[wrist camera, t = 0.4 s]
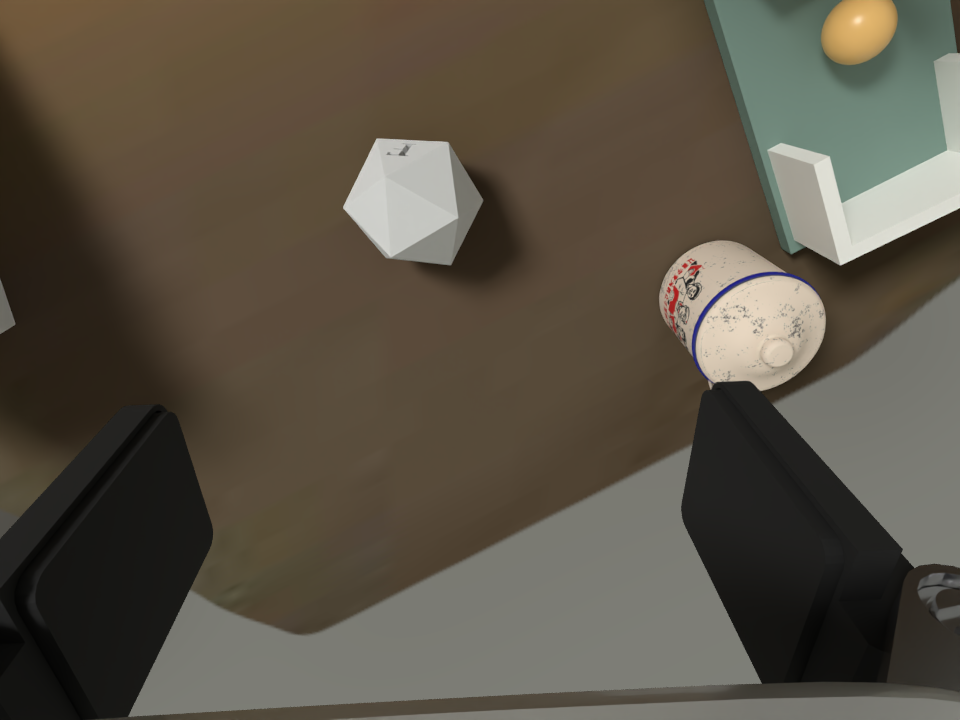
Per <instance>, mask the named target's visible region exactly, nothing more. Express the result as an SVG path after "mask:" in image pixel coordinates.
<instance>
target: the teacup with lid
mask: <svg viewBox="0 0 960 720" xmlns="http://www.w3.org/2000/svg"><path fill="white" fill-rule="evenodd" d="M659 304H660V310H661V313H662V316H663V318H664V320H665V322H666V323H667V325H668V326H669V327H670V328H671V330H672V331H673V332H674V334H675V335H676V336H677V337H678V339H679V340H680V341H681V342H682V344H683V345H684V346H685V348H686V349H687V350H688V351H689V353H690V354H691V355H692V356H693V358H694V361H695V364H696V366H697V368H698V369H699V371H700V372H701V373H702V375H703V376H704V377H705V378H706V379H708V382H709V386H710V388H712V386H713V385H714V384H715V383H716V382H727V381H750V382H752V383H753V384H754V385H755V386H756V387H757V388H758V389H759V390H760V391H763V390H767V389H770V388H773V387H776V386H778V385H780V384H782V383H784V382H786V381H788V380H789V379H791V378H792V377H794V376H795V375H797V374H798V373H799V372H800V371H801V370H802V369H803V368H805V367H806V365H807V364H808V363H809V362H810V361H811V360H812V358H813V357H814V356H815V354H816V352H817V351H818V349H819V347H820V345H821V342H822V340H823V337H824V333H825V326H826V316H825V310H824V306H823V303H822V301H821V299H820V297H819V295H818V293H817V292H816V290H815V289H814V288H813V287H812V286H811V285H810V284H809V283H808V282H806V281H805V280H803V279H802V278H800V277H798V276H795V275H792V274H789V273H786V272H784V271H783V270H781V269H780V268H778V267H777V266H775V265H774V264H772V263H771V262H769V261H768V260H766V259H765V258H763V257H762V256H760V255H759V254H757V253H756V252H754V251H753V250H751V249H749V248H748V247H746V246H744V245H742V244H740V243H736V242H732V241H713V242H708V243H705V244H702V245H699V246H697V247H695V248H693V249H691V250H689V251H688V252H686V253H685V254H683V255H682V256H681V257H680V258H679V259H678V260H677V261H676V262H675V263H674V264H673V265H672V266H671V268H670V269H669V271H668V272H667V274H666V276H665V278H664V280H663V283H662V286H661V289H660V295H659Z"/></svg>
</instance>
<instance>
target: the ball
mask: <svg viewBox="0 0 960 720" xmlns="http://www.w3.org/2000/svg"><path fill="white" fill-rule="evenodd" d="M897 22H898V14H897V9H896V7H895V5H894V3H893V1H892V0H842V1H841V2H840V3H839V4H837V5H836V6H835V7H834V8H833V9H832V11H831V12H830V13H829V15H828V16H827V18H826V20H825V22H824V24H823V27H822V31H821V44H822V48H823V50H824V52H825V54H826V55H827V56H828V57H829V58H830V59H831V60H832V61H834V62H836V63H838V64H842V65H856V64H860V63H863V62H866V61H868V60H870V59H872V58H873V57H875V56H877V55H878V54H879V53H880V52H881V51H882V50H883V49H884V48H885V47H886V46H887V45H888V44H889V42H890V41H891V39H892V37H893V35H894V33H895V30H896V27H897Z"/></svg>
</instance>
